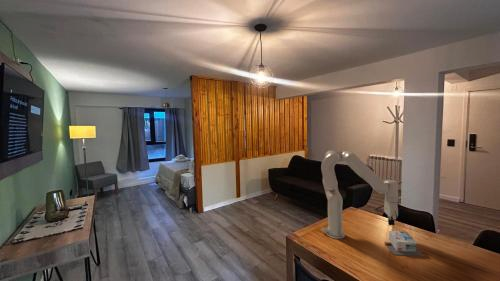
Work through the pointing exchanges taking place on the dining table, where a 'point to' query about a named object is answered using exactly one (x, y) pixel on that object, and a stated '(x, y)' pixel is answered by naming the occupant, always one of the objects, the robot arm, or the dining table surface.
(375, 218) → the dining table surface
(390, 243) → the rail
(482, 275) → the dining table surface
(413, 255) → the mat
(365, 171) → the robot arm
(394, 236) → the light bulb box
